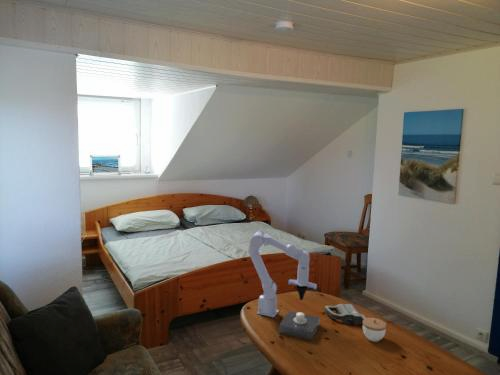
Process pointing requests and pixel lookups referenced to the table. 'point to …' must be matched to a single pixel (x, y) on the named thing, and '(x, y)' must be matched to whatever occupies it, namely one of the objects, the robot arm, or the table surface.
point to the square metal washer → (299, 326)
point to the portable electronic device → (345, 313)
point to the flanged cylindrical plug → (300, 318)
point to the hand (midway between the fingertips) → (301, 299)
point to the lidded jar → (374, 329)
